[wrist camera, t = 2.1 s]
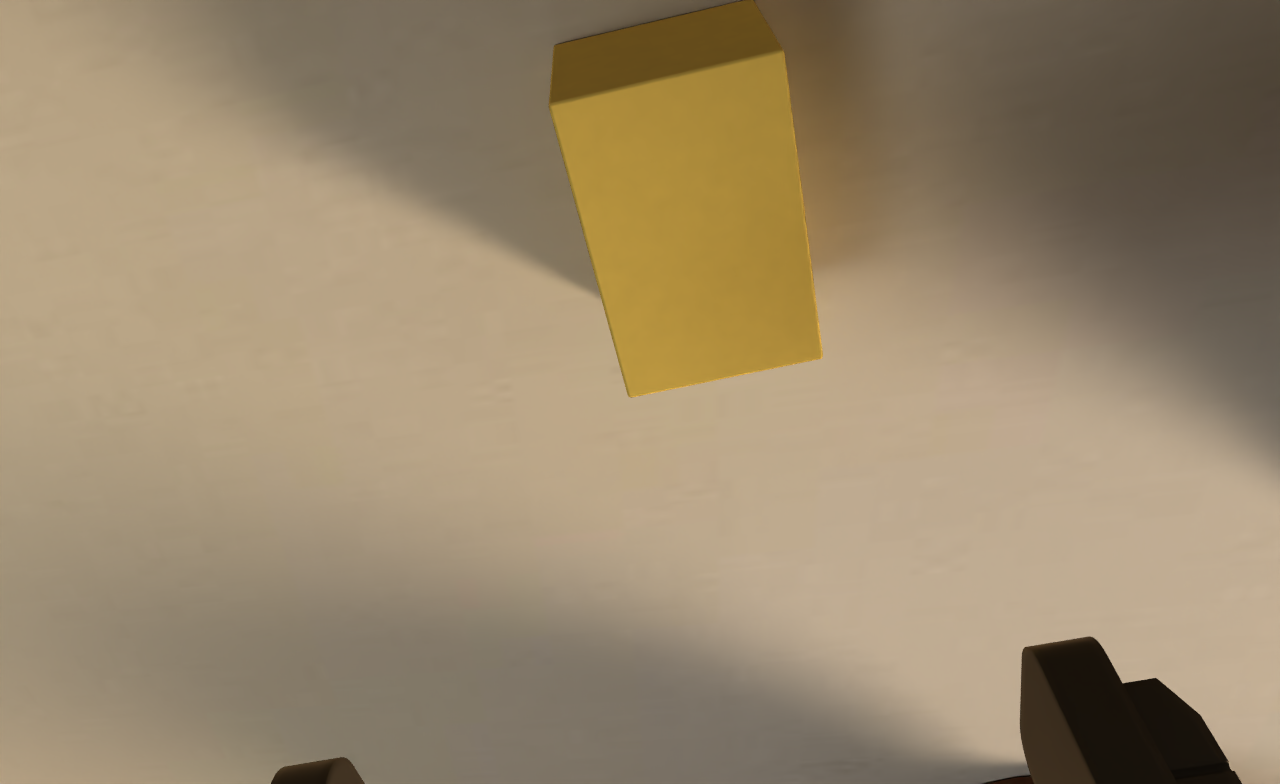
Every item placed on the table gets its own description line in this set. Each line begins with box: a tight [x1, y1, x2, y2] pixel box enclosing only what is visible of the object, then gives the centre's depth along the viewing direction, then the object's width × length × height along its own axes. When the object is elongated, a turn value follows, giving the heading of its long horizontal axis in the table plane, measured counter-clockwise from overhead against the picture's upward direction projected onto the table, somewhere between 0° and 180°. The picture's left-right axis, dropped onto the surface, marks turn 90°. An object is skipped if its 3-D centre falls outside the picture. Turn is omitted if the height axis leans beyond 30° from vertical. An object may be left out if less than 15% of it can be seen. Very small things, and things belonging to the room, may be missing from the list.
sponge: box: [549, 0, 823, 397], centre depth 22 cm, size 7×4×4 cm, turn 12°
